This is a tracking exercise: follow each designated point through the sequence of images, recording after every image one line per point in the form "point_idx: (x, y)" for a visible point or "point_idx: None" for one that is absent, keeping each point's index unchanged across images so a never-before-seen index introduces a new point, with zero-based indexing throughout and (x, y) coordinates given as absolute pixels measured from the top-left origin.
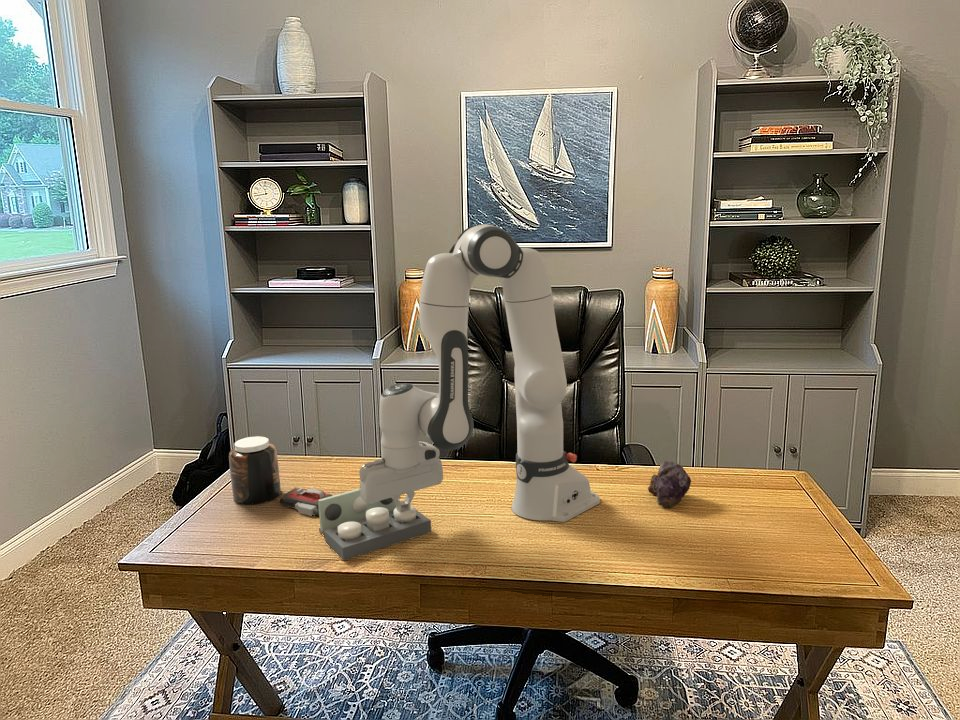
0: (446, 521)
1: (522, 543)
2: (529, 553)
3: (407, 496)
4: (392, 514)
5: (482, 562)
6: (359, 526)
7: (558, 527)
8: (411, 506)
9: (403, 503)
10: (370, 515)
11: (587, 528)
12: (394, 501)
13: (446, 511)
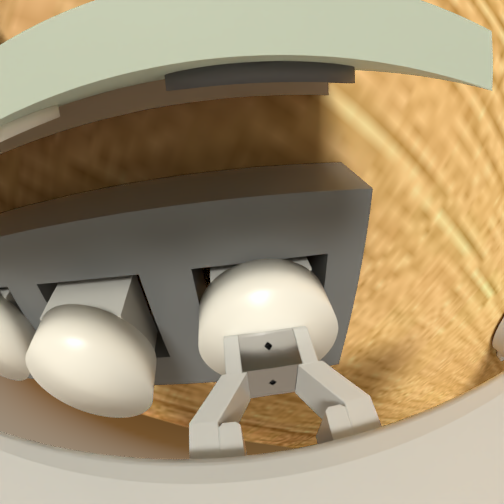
0: (412, 279)
1: (413, 398)
2: (391, 418)
3: (324, 398)
4: (211, 253)
5: (316, 431)
6: (23, 367)
7: (482, 366)
8: (330, 322)
9: (270, 386)
10: (54, 391)
11: (489, 373)
12: (211, 396)
13: (464, 209)
